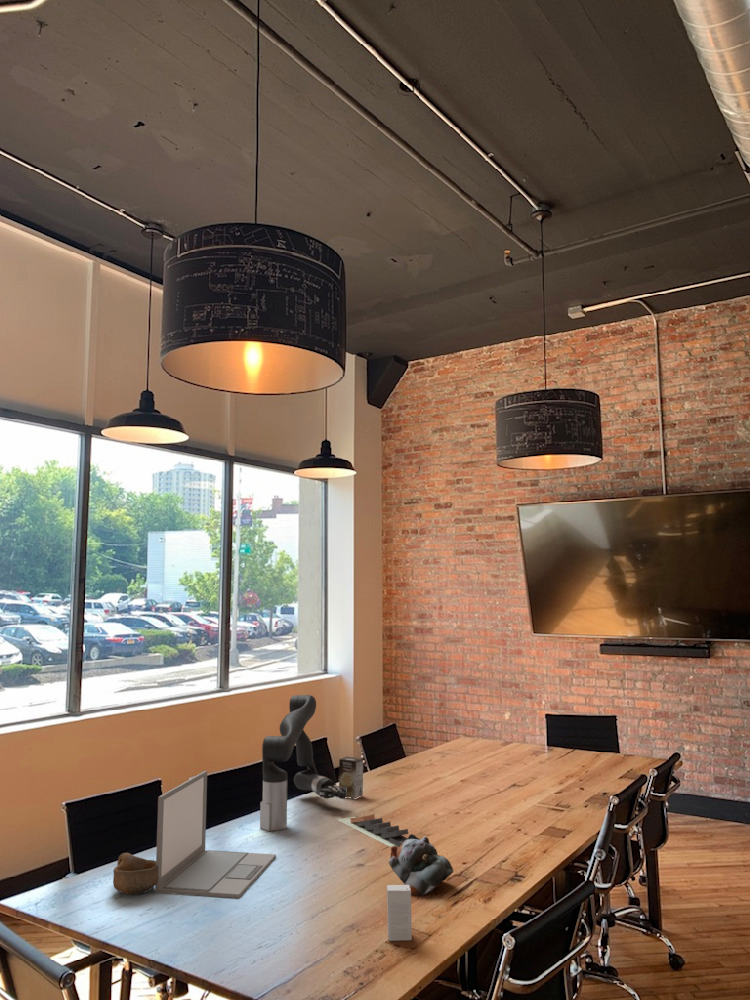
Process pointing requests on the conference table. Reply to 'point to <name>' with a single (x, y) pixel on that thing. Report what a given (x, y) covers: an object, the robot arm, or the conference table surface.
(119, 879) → the bowl
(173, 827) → the laptop
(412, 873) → the lucky cat figurine
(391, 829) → the domino
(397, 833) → the domino
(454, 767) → the conference table surface
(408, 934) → the skincare box
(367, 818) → the domino
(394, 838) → the domino
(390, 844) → the strip
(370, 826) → the domino
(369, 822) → the domino
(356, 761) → the coffee box
